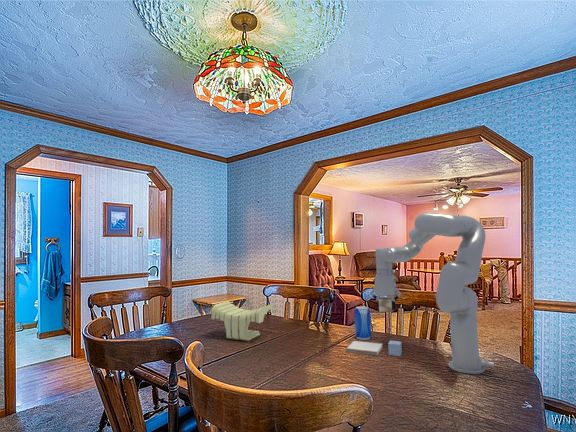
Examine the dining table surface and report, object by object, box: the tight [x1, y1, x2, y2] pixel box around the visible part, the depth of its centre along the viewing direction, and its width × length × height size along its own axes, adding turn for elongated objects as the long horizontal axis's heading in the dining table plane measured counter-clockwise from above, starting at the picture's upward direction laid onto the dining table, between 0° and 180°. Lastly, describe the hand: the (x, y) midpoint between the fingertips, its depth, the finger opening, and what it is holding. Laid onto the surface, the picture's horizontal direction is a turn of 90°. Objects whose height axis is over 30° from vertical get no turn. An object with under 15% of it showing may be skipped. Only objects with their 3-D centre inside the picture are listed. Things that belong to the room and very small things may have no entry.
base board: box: [345, 340, 384, 357], centre depth 156 cm, size 14×14×2 cm
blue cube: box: [387, 340, 403, 357], centre depth 149 cm, size 5×5×5 cm
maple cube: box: [378, 296, 394, 313], centre depth 163 cm, size 6×6×6 cm
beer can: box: [353, 305, 372, 341], centre depth 175 cm, size 8×8×16 cm
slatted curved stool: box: [211, 300, 274, 342], centre depth 183 cm, size 30×16×18 cm, turn 66°
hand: (386, 308), depth 163 cm, fingers closed on maple cube, 6 cm apart
